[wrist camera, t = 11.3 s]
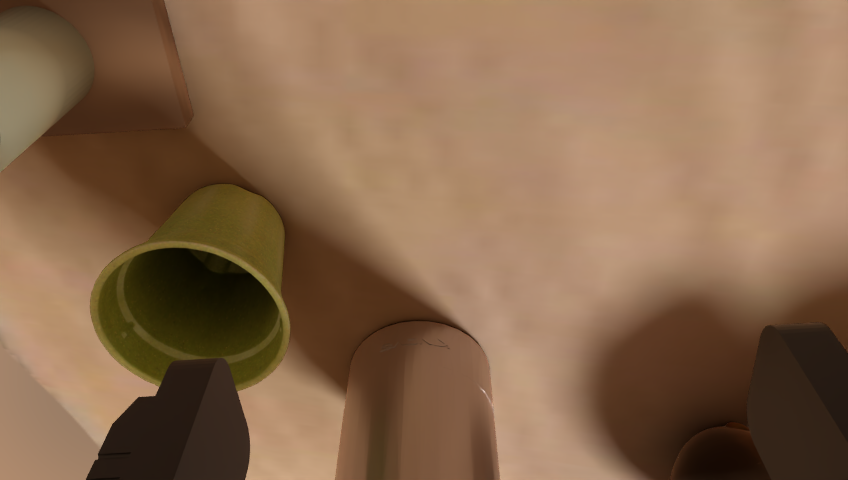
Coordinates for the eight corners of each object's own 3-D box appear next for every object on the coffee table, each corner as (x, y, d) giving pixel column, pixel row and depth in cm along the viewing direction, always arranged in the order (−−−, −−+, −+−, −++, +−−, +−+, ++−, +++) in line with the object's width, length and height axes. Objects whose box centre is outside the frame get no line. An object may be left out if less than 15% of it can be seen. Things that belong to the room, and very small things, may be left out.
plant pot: (115, 185, 41) (47, 279, 33) (266, 131, 39) (229, 217, 32) (201, 309, 46) (158, 414, 38) (340, 265, 44) (322, 367, 36)
